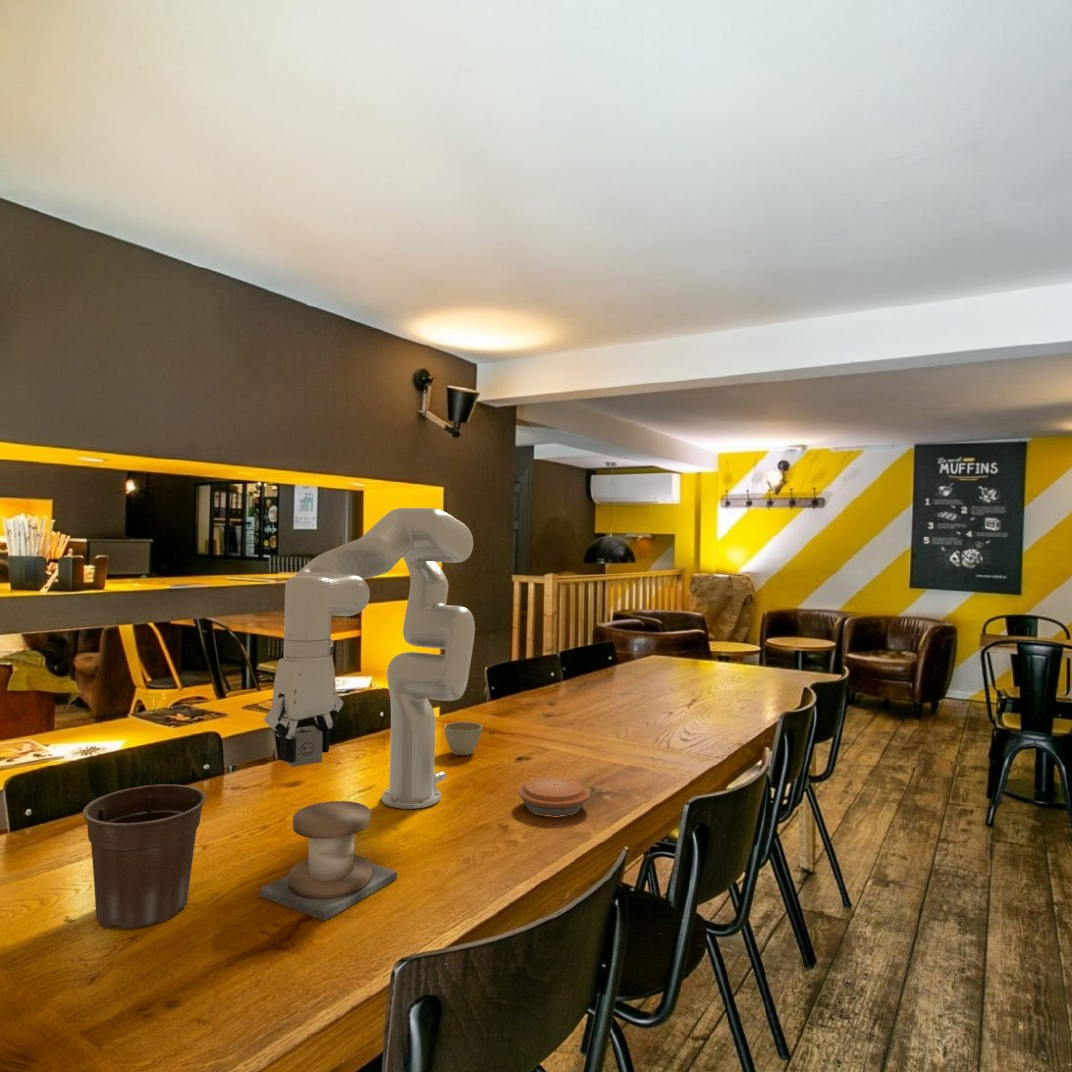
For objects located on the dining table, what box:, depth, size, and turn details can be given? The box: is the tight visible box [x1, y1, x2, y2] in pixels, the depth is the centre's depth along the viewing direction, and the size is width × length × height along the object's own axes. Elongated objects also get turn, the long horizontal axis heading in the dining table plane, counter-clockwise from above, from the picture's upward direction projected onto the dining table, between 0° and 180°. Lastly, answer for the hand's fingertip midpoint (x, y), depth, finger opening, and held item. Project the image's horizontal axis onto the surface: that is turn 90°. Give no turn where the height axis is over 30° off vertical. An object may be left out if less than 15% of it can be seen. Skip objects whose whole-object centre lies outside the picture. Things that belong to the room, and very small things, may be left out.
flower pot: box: [443, 721, 483, 756], centre depth 193 cm, size 10×10×7 cm
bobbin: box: [259, 800, 398, 922], centre depth 117 cm, size 16×14×12 cm
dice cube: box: [286, 725, 323, 768], centre depth 123 cm, size 5×5×5 cm
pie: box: [517, 776, 591, 816], centre depth 155 cm, size 15×16×5 cm
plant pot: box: [82, 784, 207, 930], centre depth 109 cm, size 16×16×16 cm
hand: (304, 755), depth 123 cm, fingers closed on dice cube, 6 cm apart
